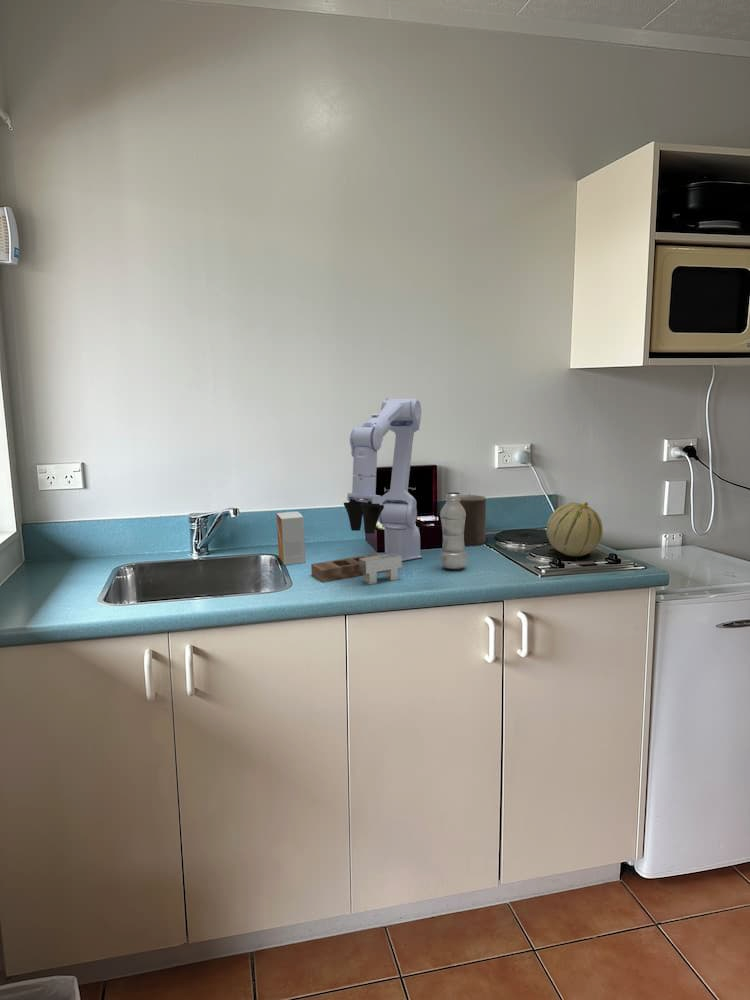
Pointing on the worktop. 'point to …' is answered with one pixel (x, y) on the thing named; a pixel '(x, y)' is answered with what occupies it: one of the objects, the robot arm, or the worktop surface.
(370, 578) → the pale wooden bridge block
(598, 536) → the cantaloupe
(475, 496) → the pillar candle
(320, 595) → the worktop surface
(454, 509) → the plastic bottle
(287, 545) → the small box
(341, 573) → the walnut rail
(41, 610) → the worktop surface
